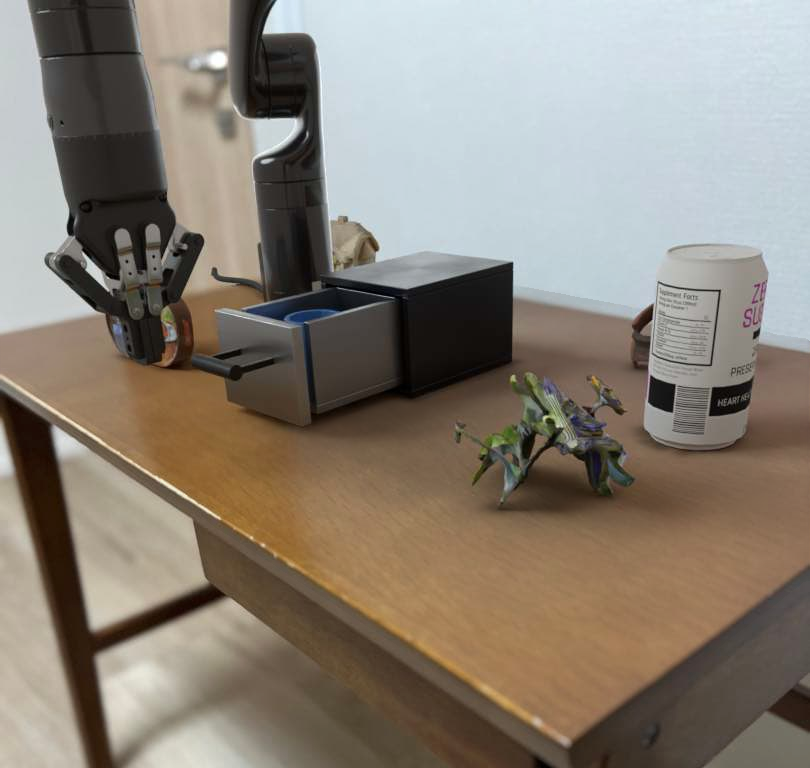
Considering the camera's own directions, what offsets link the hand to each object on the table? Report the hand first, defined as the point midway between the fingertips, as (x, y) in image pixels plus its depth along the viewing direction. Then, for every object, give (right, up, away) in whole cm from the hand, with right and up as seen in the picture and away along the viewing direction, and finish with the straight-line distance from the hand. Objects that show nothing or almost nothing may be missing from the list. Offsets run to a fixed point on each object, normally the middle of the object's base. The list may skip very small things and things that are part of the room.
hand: (148, 361), depth 71 cm
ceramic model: (+12, +25, +65) cm, 71 cm away
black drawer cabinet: (+23, +4, +23) cm, 33 cm away
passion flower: (+31, -12, -7) cm, 34 cm away
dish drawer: (+11, -1, +13) cm, 17 cm away
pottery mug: (+50, +4, +21) cm, 54 cm away
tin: (-8, +6, +32) cm, 33 cm away
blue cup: (+13, +1, +14) cm, 19 cm away
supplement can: (+45, -6, +3) cm, 46 cm away
